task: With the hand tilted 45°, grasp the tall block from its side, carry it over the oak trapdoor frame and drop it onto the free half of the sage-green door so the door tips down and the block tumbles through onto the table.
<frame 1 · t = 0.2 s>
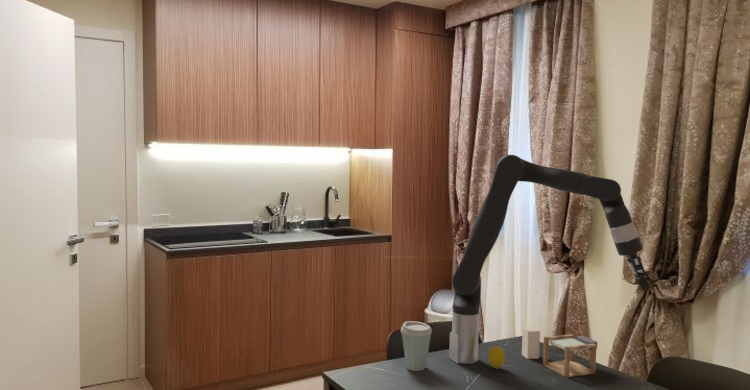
hand: (643, 286, 170), 31 cm above the table, tool tilted 20°, fingers open, 8 cm apart
disposable coffee cup: (415, 368, 182), on the table
door: (574, 343, 184), point 8 cm above the table, hinge at 0.0°
lemon: (496, 369, 182), on the table
frame: (568, 369, 183), on the table
block: (530, 356, 195), on the table
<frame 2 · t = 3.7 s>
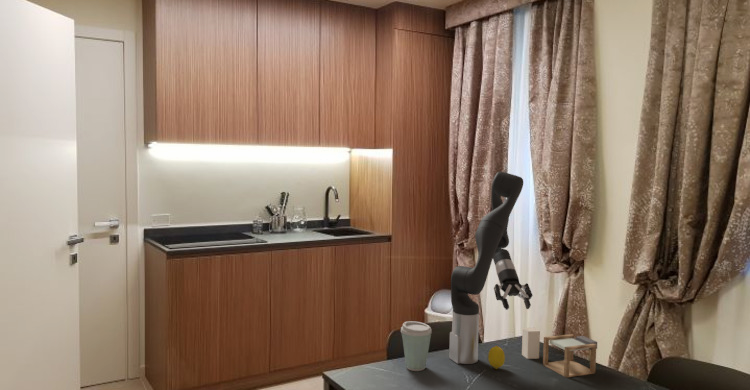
hand: (518, 308, 206), 15 cm above the table, tool tilted 45°, fingers open, 8 cm apart
nothing on the table moved.
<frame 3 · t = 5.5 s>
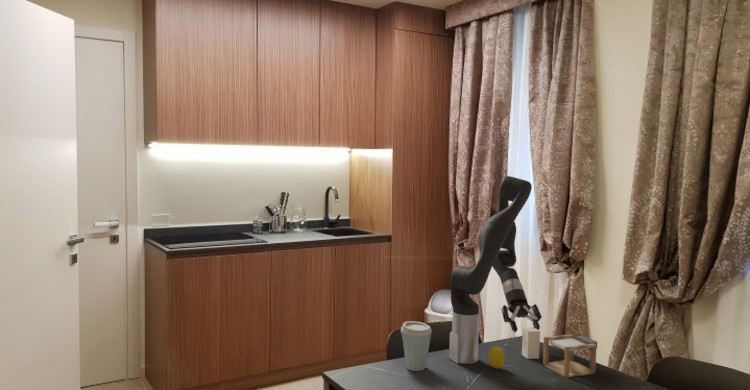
hand: (526, 330, 198), 8 cm above the table, tool tilted 45°, fingers open, 8 cm apart
nothing on the table moved.
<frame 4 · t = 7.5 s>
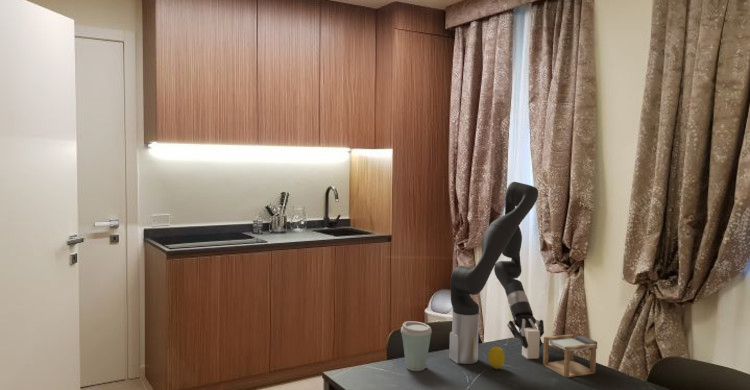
hand: (533, 346, 193), 4 cm above the table, tool tilted 45°, fingers closed on block, 4 cm apart
block: (530, 356, 195), on the table, touching gripper
everything else where it was.
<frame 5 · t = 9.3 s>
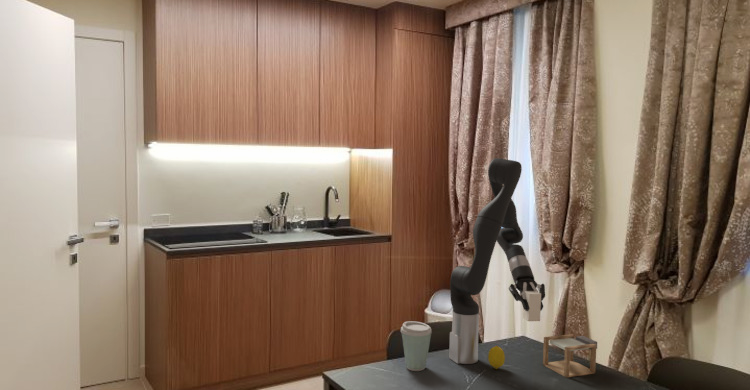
hand: (534, 309, 193), 18 cm above the table, tool tilted 45°, fingers closed on block, 4 cm apart
block: (531, 319, 195), point 14 cm above the table, touching gripper
everything else where it was.
when the fingers open (16 cm above the table, at t = 11.5 s): block drops 4 cm, resting on door.
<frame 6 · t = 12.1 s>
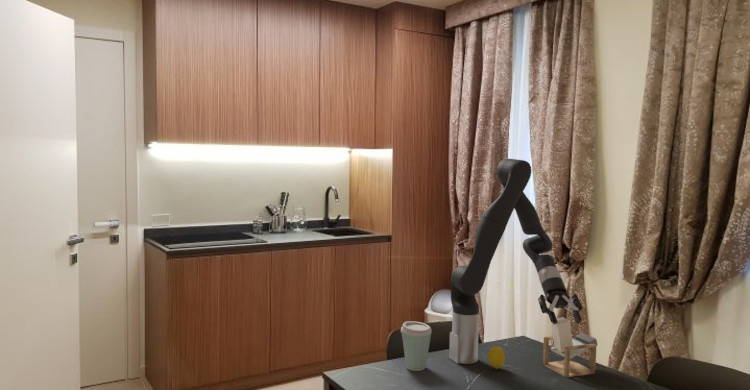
hand: (567, 322, 181), 17 cm above the table, tool tilted 45°, fingers open, 8 cm apart
door: (574, 346, 184), point 8 cm above the table, hinge at -17.0°, touching block
block: (563, 348, 183), point 7 cm above the table, tilted 11°, touching door
everything else where it was.
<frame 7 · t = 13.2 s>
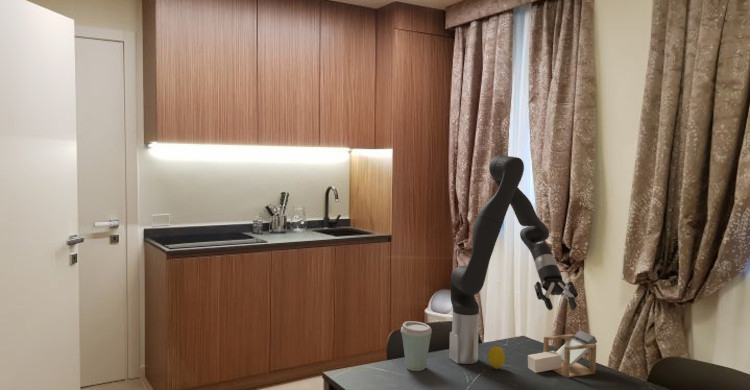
hand: (562, 309, 184), 20 cm above the table, tool tilted 45°, fingers open, 8 cm apart
door: (575, 348, 184), point 7 cm above the table, hinge at -34.1°, touching block
block: (557, 359, 184), point 3 cm above the table, tilted 95°, touching door, frame
everything else where it was.
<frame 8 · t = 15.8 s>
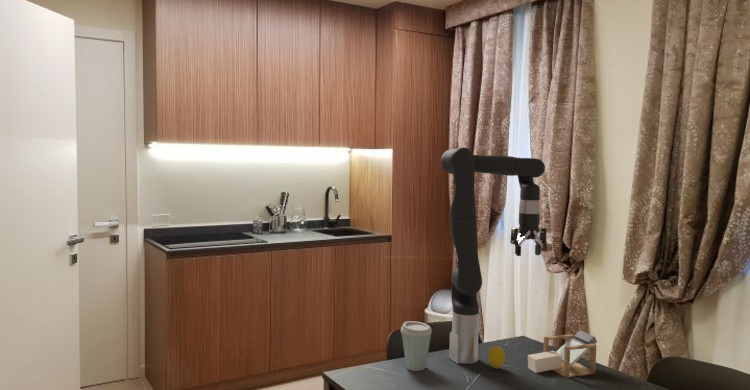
hand: (528, 255, 200), 36 cm above the table, tool pointing down, fingers open, 8 cm apart
nothing on the table moved.
at the end: block point 3.1 cm above the table; block 3.9 cm from the frame (horizontally); the gripper is holding nothing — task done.
